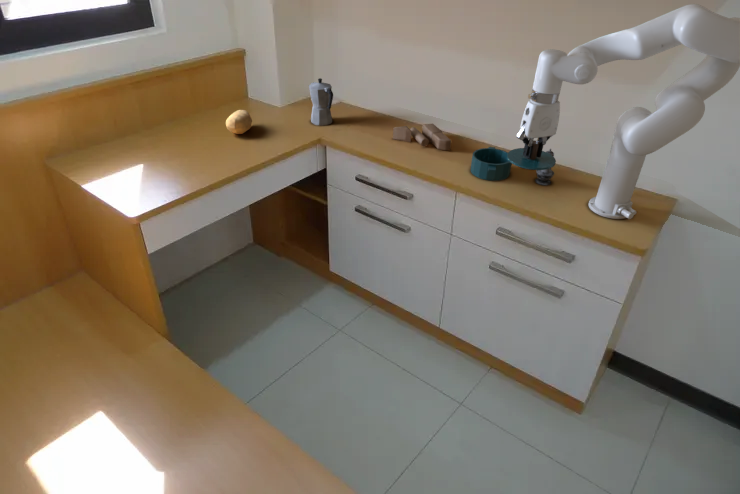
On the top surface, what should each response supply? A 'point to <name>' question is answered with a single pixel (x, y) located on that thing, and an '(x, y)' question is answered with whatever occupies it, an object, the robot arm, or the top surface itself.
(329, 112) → the coffeepot
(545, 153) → the pan lid
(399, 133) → the wooden block set
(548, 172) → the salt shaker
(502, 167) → the pan
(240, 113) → the potato
